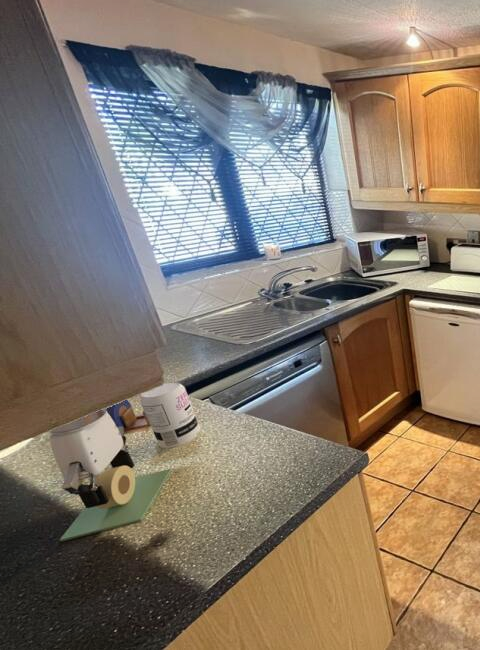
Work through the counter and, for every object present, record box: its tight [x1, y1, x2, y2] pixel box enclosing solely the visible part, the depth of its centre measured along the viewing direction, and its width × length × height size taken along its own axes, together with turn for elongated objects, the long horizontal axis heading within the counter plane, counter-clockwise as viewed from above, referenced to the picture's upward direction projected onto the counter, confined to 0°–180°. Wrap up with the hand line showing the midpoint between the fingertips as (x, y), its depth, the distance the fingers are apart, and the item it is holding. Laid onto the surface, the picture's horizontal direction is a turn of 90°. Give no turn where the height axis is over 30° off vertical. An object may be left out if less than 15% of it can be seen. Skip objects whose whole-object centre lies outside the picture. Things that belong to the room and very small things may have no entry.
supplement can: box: [139, 380, 201, 449], centre depth 94 cm, size 8×8×15 cm
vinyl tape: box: [106, 399, 132, 427], centre depth 99 cm, size 3×8×8 cm, turn 21°
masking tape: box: [97, 466, 136, 509], centre depth 77 cm, size 3×8×8 cm, turn 21°
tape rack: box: [122, 406, 151, 435], centre depth 101 cm, size 10×9×5 cm
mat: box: [59, 468, 172, 543], centre depth 79 cm, size 12×14×1 cm
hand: (112, 485), depth 77 cm, fingers open, 9 cm apart
